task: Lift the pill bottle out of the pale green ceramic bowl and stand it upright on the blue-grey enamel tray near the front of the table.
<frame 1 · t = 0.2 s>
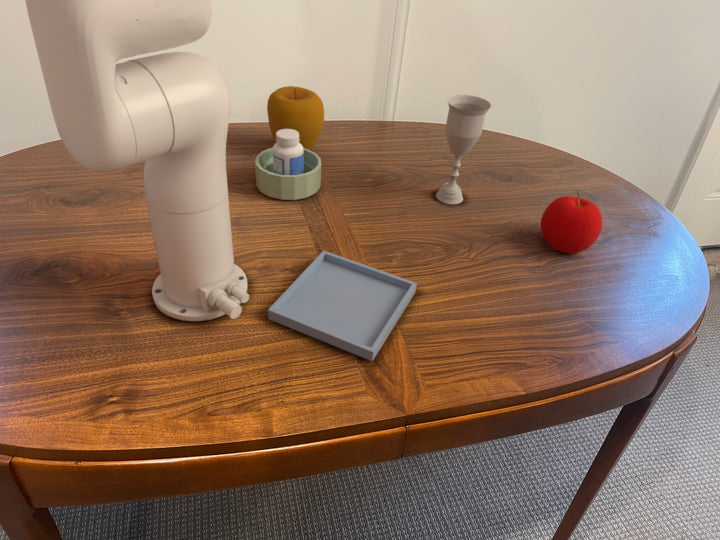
apple: (295, 152, 109), on the table
tray: (345, 305, 74), on the table
bowl: (288, 185, 98), on the table
pill bottle: (288, 184, 98), resting on bowl
fruit: (562, 246, 90), on the table
chalice: (449, 198, 100), on the table
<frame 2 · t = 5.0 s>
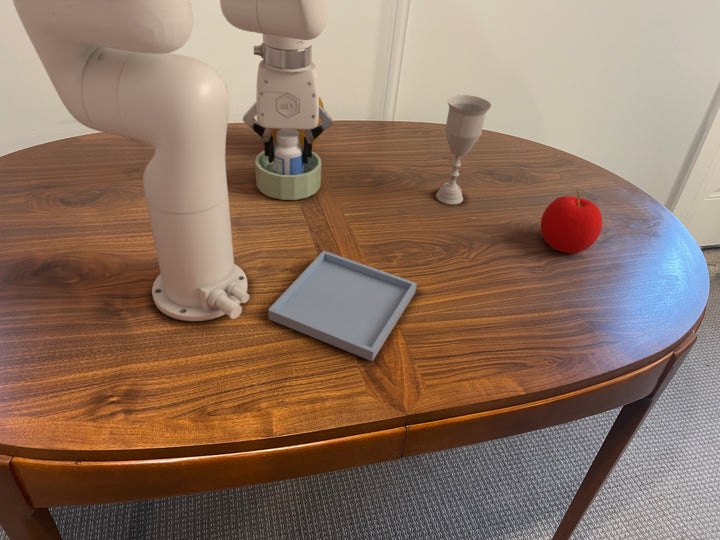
hand: (288, 159, 95), 5 cm above the table, tool pointing down, fingers closed on pill bottle, 5 cm apart
pill bottle: (288, 184, 98), resting on bowl, touching gripper
everything else where it was.
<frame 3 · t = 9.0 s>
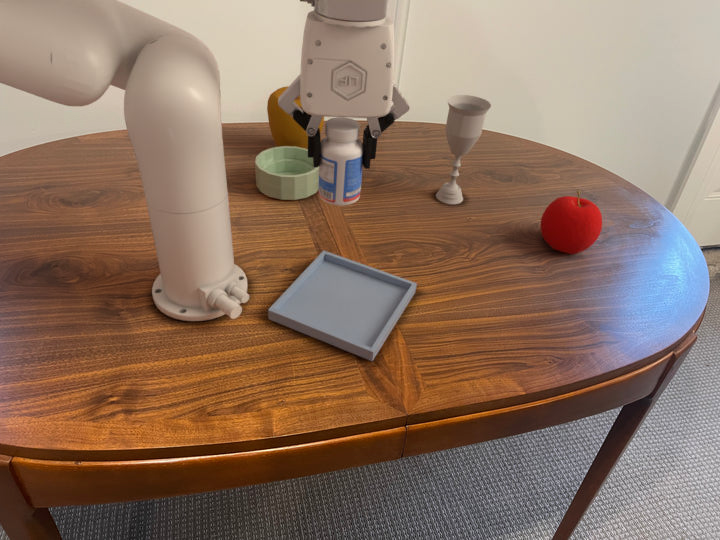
hand: (340, 161, 66), 19 cm above the table, tool pointing down, fingers closed on pill bottle, 5 cm apart
pill bottle: (338, 197, 69), point 14 cm above the table, touching gripper
everything else where it was.
when the fingers open (5 cm above the table, at t = 13.1 s): pill bottle stays where it is, resting on tray.
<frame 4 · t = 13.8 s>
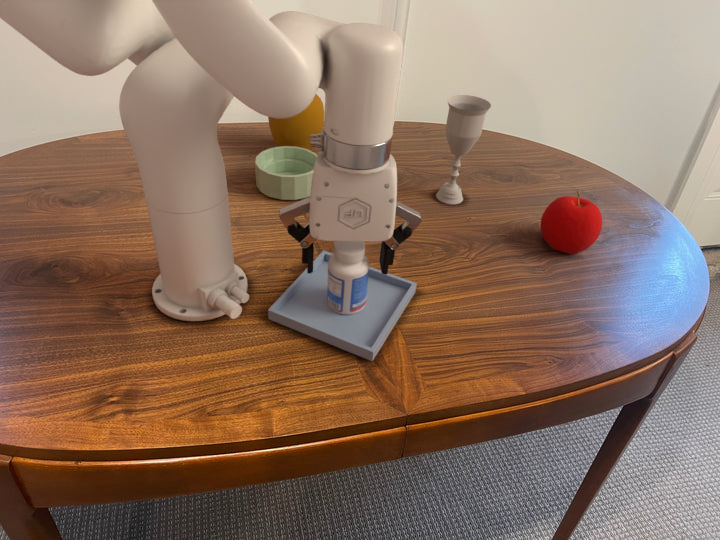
hand: (346, 267, 70), 7 cm above the table, tool pointing down, fingers open, 9 cm apart
pill bottle: (345, 303, 74), resting on tray
everything else where it was.
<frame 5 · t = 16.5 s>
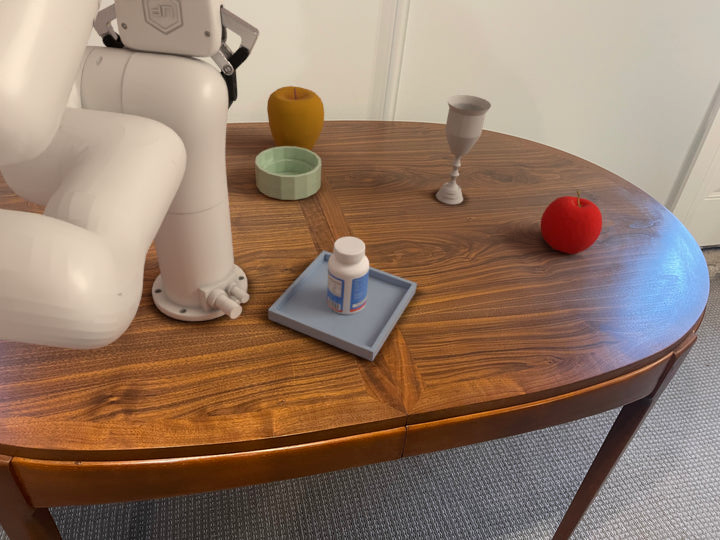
hand: (185, 101, 60), 26 cm above the table, tool pointing down, fingers open, 9 cm apart
nothing on the table moved.
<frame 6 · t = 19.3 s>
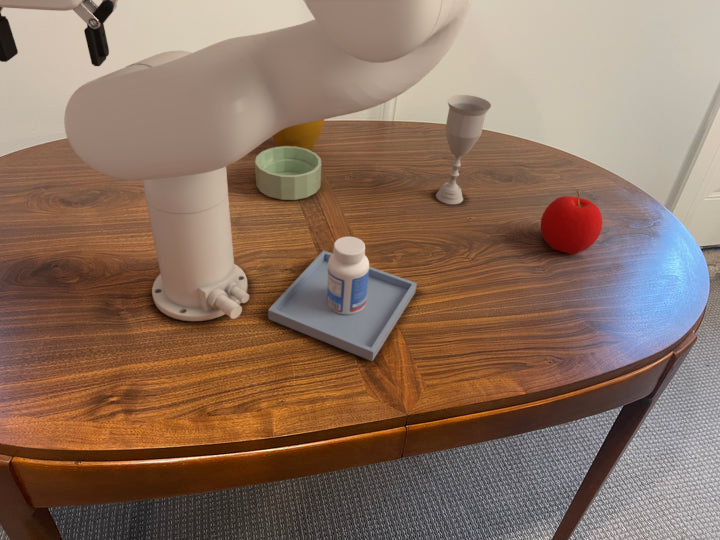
hand: (55, 60, 60), 28 cm above the table, tool pointing down, fingers open, 9 cm apart
nothing on the table moved.
at the end: pill bottle inside the target area in the tray (0.1 cm from its centre), point 0.3 cm above the tray's base; pill bottle tilted 0°; the gripper is holding nothing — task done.
